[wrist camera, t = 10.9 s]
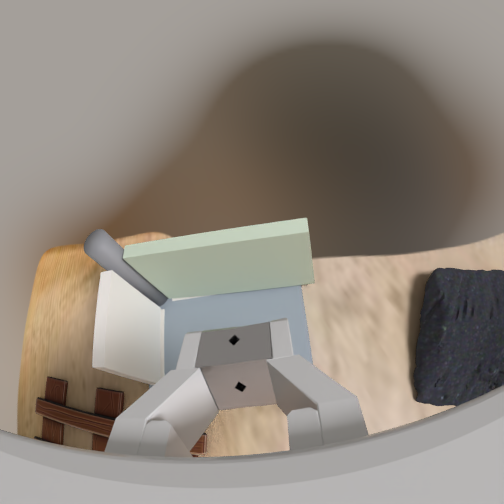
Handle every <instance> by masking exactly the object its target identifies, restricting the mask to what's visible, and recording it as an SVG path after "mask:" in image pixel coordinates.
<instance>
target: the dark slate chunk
mask: <svg viewBox="0 0 504 504" xmlns="http://www.w3.org/2000/svg"><path fill="white" fill-rule="evenodd" d="M420 314H421V318H420V328H421V329H420V333H419V337H418V341H417V346H416V365H417V367H416V368H415V371H414V375H413V376H414V386H415V389H416V391H417V392H418V397H417V399H416V401H418V402H421V403H429V404H432V405H435V406H444V405H455V406H459V405H461V404H463V403H466V402H468V401H470V400H473V399H475V398H477V397H479V396H482V395H484V394H486V393H488V392H490V391H492V390H494V389H496V388H498V387H501V386H502V385H504V271H502V270H491V271H485V270H477V271H476V270H462V269H455V268H445V269H443V268H437V269H435V270H434V271H433V273H432V274H431V276H430V277H429V280H428V281H427V283H426V288H425V297H424V303H423V308H422V310H421V313H420Z"/></svg>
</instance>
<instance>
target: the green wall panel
mask: <svg viewBox="0 0 504 504" xmlns="http://www.w3.org/2000/svg"><path fill="white" fill-rule="evenodd" d="M123 259H124V260H125V261H126V262H127V263H128V264H130V265H131V266H132V267H133V268H134V269H135V270H136V271H137V272H139V273H140V274H141V275H142V276H143V277H144V278H145V279H147V280H148V281H149V282H150V283H151V284H152V285H154V286H155V287H156V288H157V289H158V290H159V291H161V292H162V293H163V294H164V295H165V296H166V297H168V298H169V299H172V298H183V297H194V296H205V295H215V294H225V293H235V292H244V291H253V290H262V289H271V288H280V287H288V286H297V285H305V284H313V283H315V282H314V272H313V263H312V254H311V245H310V237H309V230H308V222H307V218H302V219H294V220H287V221H281V222H274V223H266V224H259V225H252V226H245V227H238V228H232V229H226V230H219V231H212V232H206V233H199V234H193V235H187V236H180V237H174V238H168V239H162V240H156V241H150V242H144V243H138V244H132V245H126V246H125V249H124V254H123Z"/></svg>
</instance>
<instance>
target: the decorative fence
mask: <svg viewBox="0 0 504 504" xmlns="http://www.w3.org/2000/svg"><path fill="white" fill-rule="evenodd" d="M67 384H68V382H67V381H65V380H60V379H56V378H52V377H47V382H46V391H45V399H42V398H39V397H38V398H37V399H36V410H35V412H36V414H39V415H41V416H43V426H42V439H41V438H39V437H36V436H35V437H34V439H36V440H41V441H45V442H50V443H54V444H59V445H63V431H64V424H66V425H69V426H72V427H75V428H78V429H82V430H85V431H88V432H91V433H93V444H92V450H94V451H102V452H104V451H105V448H106V446H107V443H108V440H109V437H110V434H111V431H112V428H113V425H114V423H115V420H116V418H117V417H118V416H119V415H120V414H121V413H123V400H124V392H120V391H114V390H108V389H103V388H98V387H97V390H96V400H95V411H94V414H93V413H89V412H85V411H82V410H78V409H75V408H71V407H68V406H65V403H66V393H67ZM206 452H207V434H206V433H203V434H202V436H201V437H200V438H199V440H198V441H197V442H196V444H195V445H194V446H193V448H192V449H191V450H190V453H191V455H192V456H193V457H198V455H205V454H206Z"/></svg>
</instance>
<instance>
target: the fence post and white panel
mask: <svg viewBox="0 0 504 504" xmlns="http://www.w3.org/2000/svg"><path fill="white" fill-rule="evenodd" d="M84 251H85V253H86V254H87V255H88V256H90V257H91V258H92V259H93V260H94V261H96V262H97V263H98V264H99V265H101V266H102V267H103V268H104V269H106V270H107V271H105V272H101V275H100V283H99V290H98V299H97V308H96V317H95V328H94V341H93V358H92V367H93V368H96V369H99V370H102V371H105V372H108V373H111V374H115V375H118V376H121V377H125V378H128V379H132V380H135V381H139V382H143V383H146V384H156V383H157V382H158V381H159V380H160V322H161V308H160V307H159V306H162V305H163V304H164V303H165V302H166V301H167V299H168V297H166V296H165V295H164V294H163V293H162V292H161V291H159V290H158V289H157V288H156V287H155V286H154V285H152V284H151V283H150V282H149V281H148V280H147V279H145V278H144V277H143V276H142V275H141V274H140V273H139V272H137V271H136V270H135V269H134V268H133V267H132V266H131V265H130V264H128V263H127V262H126V261H125V260H124V259H123V254H124V249H123V248H122V247H121V246H120V245H119V244H118V243H117V242H116V241H115V240H113V239H112V238H111V237H110V236H109V235H108V234H107V233H106V232H105V231H104V230H102V229H99V230H95V231H94V232H92V233H91V234H90V235H89V236H88V237H87V239H86V241H85V243H84Z"/></svg>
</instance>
